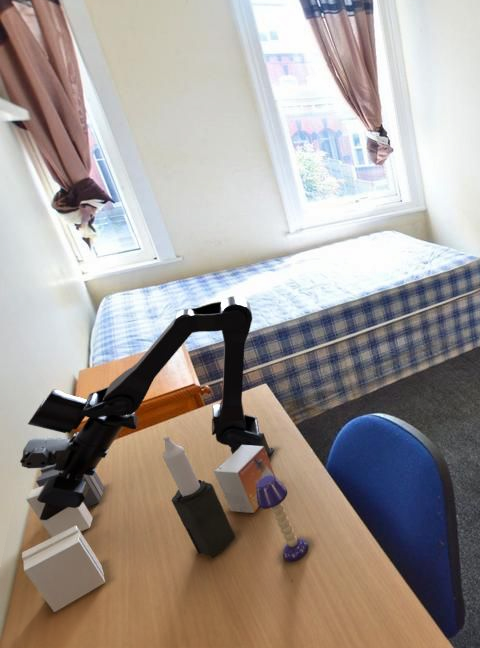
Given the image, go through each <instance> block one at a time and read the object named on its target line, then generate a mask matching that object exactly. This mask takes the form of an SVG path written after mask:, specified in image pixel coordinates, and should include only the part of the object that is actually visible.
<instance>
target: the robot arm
mask: <svg viewBox="0 0 480 648" xmlns="http://www.w3.org/2000/svg"><path fill="white" fill-rule="evenodd" d="M252 322H253V314H252V308H251V304H250V303H249V301H248V300H247V299H245V298H244V297H242V296H239V295H238V296H237V295H234V296H233V295H232V296H229V297H226V298H225V299H223V300H222V301H216V302H210V303H206V304H203V305H200V306H197V307H192V308H185V309H182V310H179V311H178V312H177V313H176V314H175V317H174V319H172V321H171V322H170V323H169V325H168V326H167V327H166V328H165V329H164V330H163V332H162V333H161V334H160V335H159V336H158V338H157V339H156V340H155V341H154V342H153V343H152V345H151V346H150V347H149V348H148V350H146V352H145V353H144V354H143V355H142V356H141V358H140V359H139V360H138V361H137V362H136V363H135V364H133V366H131V367H130V368H128V369H126V370H125V371H124V372H122V373H121V374H120V375H118V376H117V377H116V378H115V379H114V380H113V381H111V382H110V384H109V385H108V386H106V387H103V388H101V389H99V390H95V391H94V392H91V393H89V394H88V396H87V397H86V398H82V397H78V396H75V395H72V394H69V393H65V392H64V391H61V390H58V389H52V390H51V391H50V393H49V394H48V396H47V397H46V398H45V399H44V398H43V400H42V402H41V403H40V405H39V406H38V408H37V409H36V410H35V412H34V413H33V415H32V417H31V418H30V419H29V421H28V422H27V425H29V426H34V427H36V428H37V427H38V428H42V429H46V430H50V431H54V432H58V433H62V434H67V433H68V434H71V432H72V431H73V430H75V431H76V430H78V428H79V427H80V426H81V424H82V422H83V421H84V420H85V418H87V419H86V421H85V422H84V424H83V426H82V427H81V428H80V429H79V431H77V432H76V433H73V435H72V436H71V437H67V438H60V437H59V438H58V437H52V438H51V437H50V438H49V437H48V438H46V437H45V438H43V437H42V438H41V437H40V438H32V439H29V440H28V441H27V443H26V444H25V446H24V448H23V450H22V455H21V458H20V461H19V463H20V464H21V467H22V468H27V469H41V468H44V467H46V466H51V465H55V464H56V465H55V466H54V468H53V470H58V471H60V472H59V475H58V476H57V477H54V478H51V479H48V481H47V482H46V483H45V485H44V486H43V488H42V490H41V492H40V494H39V496H38V498H37V500H38V501H39V502H41V503H45V505H44V508H43V511H42V513H41V516H40V519H39V521H40V520H48V519H50V518H51V517H53V516H54V515H56V514H58V513H59V512H61V511H63V510H64V509H66V508H68V507H71V508H77V507H80V505H81V504H82V502H83V501H84V499H85V497H86V495H87V492H88V489H89V486H88V484H87V483H86V482H83V481H82V479H83V477H84V474H85V475H90V476H92V475H93V474H94V472H96V471H97V467H98V465H99V464H100V462H101V460H102V459H105V458H106V456H107V455H108V453H109V449H110V448H111V446H112V444H113V443H114V442H115V440H116V438H117V437H118V436H119V434H120V433H121V431H122V430H123V428H127V429H129V430H136V429H137V428H138V424H139V419H140V418H138V416H137V414H136V412H137V411H138V410H139V408H140V407H141V405H142V403H143V401H144V400H145V398H146V396H147V394H148V392H149V390H150V388H151V386H152V383H153V382H154V380H155V379H156V377H157V376H158V375H159V373H161V371H162V369H164V368H165V366H166V365H167V364H168V363H169V362H170V360H171V359H172V358H173V357H174V355H175V354H176V353H177V352H178V350H179V349H180V348H181V347H182V346H183V345H184V343H185V342H186V341H187V340H188V339H189V338H190V336H191V335H192V334H193V333H194V334H195V333H200V332H201V333H202V332H203V333H204V332H212V333H213V332H221V334H222V338H223V342H224V343H223V369H222V370H223V371H222V396H221V400H220V403H219V404H212V417H211V418H212V419H211V435H212V436H215V439H216V441H217V443H220V444H221V445H224V446H228V447H229V448H230V452H231V455H232V454H233V453H234V452H235V451H237V450H238V449H239V447H240V446H241V445H252V446H264V447H265V450H266V453H267V455H268V458H269V459H270V457H271V456H272V455H273V453H274V451H275V448H274V447H270V446H269V444H268V441H267V437H266V436H265V433H264V432H261V431H260V428H259V422H258V417H256V416H252V415H249V414H246V413H245V411H244V406H243V405H244V404H243V385H244V384H243V382H244V364H245V363H244V362H245V344H246V341H247V339H248V336H249V333H250V329H251V326H252Z"/></svg>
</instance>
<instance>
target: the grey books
mask: <svg viewBox="0 0 480 648" xmlns="http://www.w3.org/2000/svg"><path fill="white" fill-rule="evenodd" d="M55 465H56V464H55ZM55 465H51V466H46V467H44V468H40V475H38V477H37V478H36V480H35V483H36V484H37V486H38V487H41V486H44V485H45V483H46V482H47V481H48V479H51V478H54V477H57V476H58V475H59V472H60V471H58V470H53V468H54V466H55ZM82 481H83V482H86V483H87V484H88V486H89V489H88V492H87V495H86V497H85V499H84V501H83V503H84V504H85V506H86V508H88V507H91V506H93V505H96V504H99V503H101V499H102V497H103V494H104V491H105V485H104V483H103V482H102V481H101V479H100V477H99V475H98V473H97V472H96V471H95V472H94V474H93V475H92V476H90V475H85V474H84V477H83V479H82Z"/></svg>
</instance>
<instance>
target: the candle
mask: <svg viewBox="0 0 480 648" xmlns="http://www.w3.org/2000/svg"><path fill="white" fill-rule="evenodd" d="M162 440H163V441H164V452H163V455H162V458H163V461H164V462H165V464H166V467H167V469H168V470H169V472H170V475H171V477H172V478H173V481H174V482H175V485H176V487H177V489H178V490H177V491H176V493H175V495H173V496H172V498H171V502H172V505H173V507H174V509H175V510H176V513H177V515H178V516H179V518H180V520H181V523H182V524H183V527H184V528H185V531H186V533H187V534H188V536H189V539H190V541H191V543H192V545H193V546H194V548H195V550H196V553H197V554H199V555H201V554H203V555H206V556H208V557H209V558H215V557H217V556H219V555H220V554H221V553H222V552H223V551H224V550H225V549H226V548H227V547H228V546H229V545H230V544H231V543H232V542H233V541H234V540H235V538H236V534H235V532H234V530H233V528H232V525H231V524H230V522H229V520H228V517H227V515H226V512H225V511H224V508H223V506H222V503H221V501H220V499H219V497H218V494H217V492H216V490H215V487H214V486H213V484H212V483H210V482H207V481H205V480H202V479H198V477H197V475H196V473H195V470H194V469H193V466H192V464H191V462H190V459H189V458H188V456H187V453H186V451H185V449H184V448H183V447H182V446H180V445H178V444H176V443H175V442H173V440H172V439H170V435H164V436H163V438H162Z"/></svg>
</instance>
